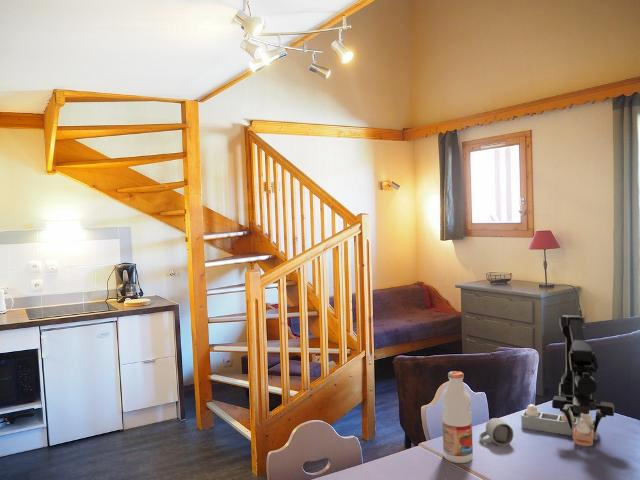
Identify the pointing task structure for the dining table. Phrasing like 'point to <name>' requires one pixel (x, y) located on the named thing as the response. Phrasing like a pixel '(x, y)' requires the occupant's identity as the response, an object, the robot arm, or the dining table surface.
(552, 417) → the egg carton
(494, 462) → the dining table surface
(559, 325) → the robot arm
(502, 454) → the dining table surface
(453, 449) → the fruit juice
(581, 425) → the egg
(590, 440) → the egg cup
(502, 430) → the ceramic mug
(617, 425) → the dining table surface
